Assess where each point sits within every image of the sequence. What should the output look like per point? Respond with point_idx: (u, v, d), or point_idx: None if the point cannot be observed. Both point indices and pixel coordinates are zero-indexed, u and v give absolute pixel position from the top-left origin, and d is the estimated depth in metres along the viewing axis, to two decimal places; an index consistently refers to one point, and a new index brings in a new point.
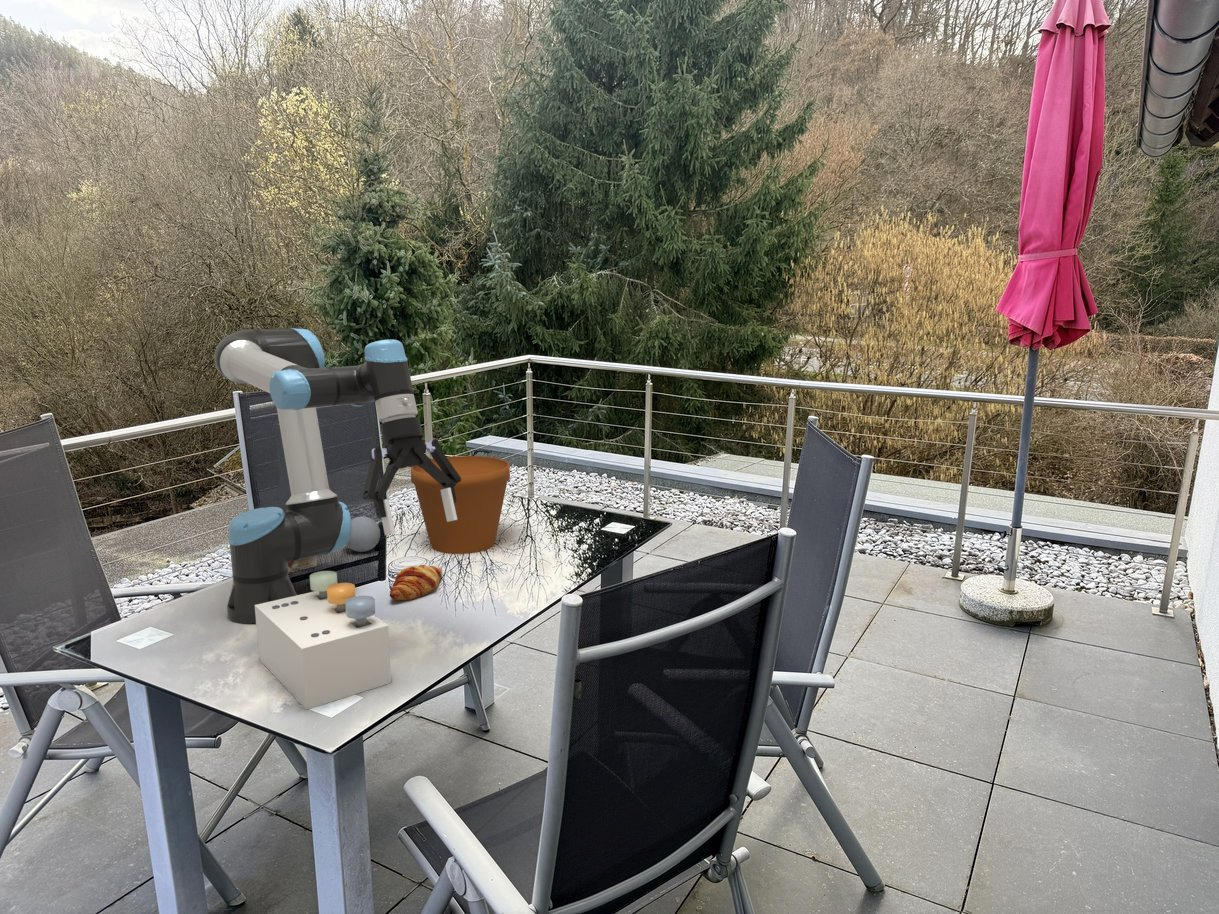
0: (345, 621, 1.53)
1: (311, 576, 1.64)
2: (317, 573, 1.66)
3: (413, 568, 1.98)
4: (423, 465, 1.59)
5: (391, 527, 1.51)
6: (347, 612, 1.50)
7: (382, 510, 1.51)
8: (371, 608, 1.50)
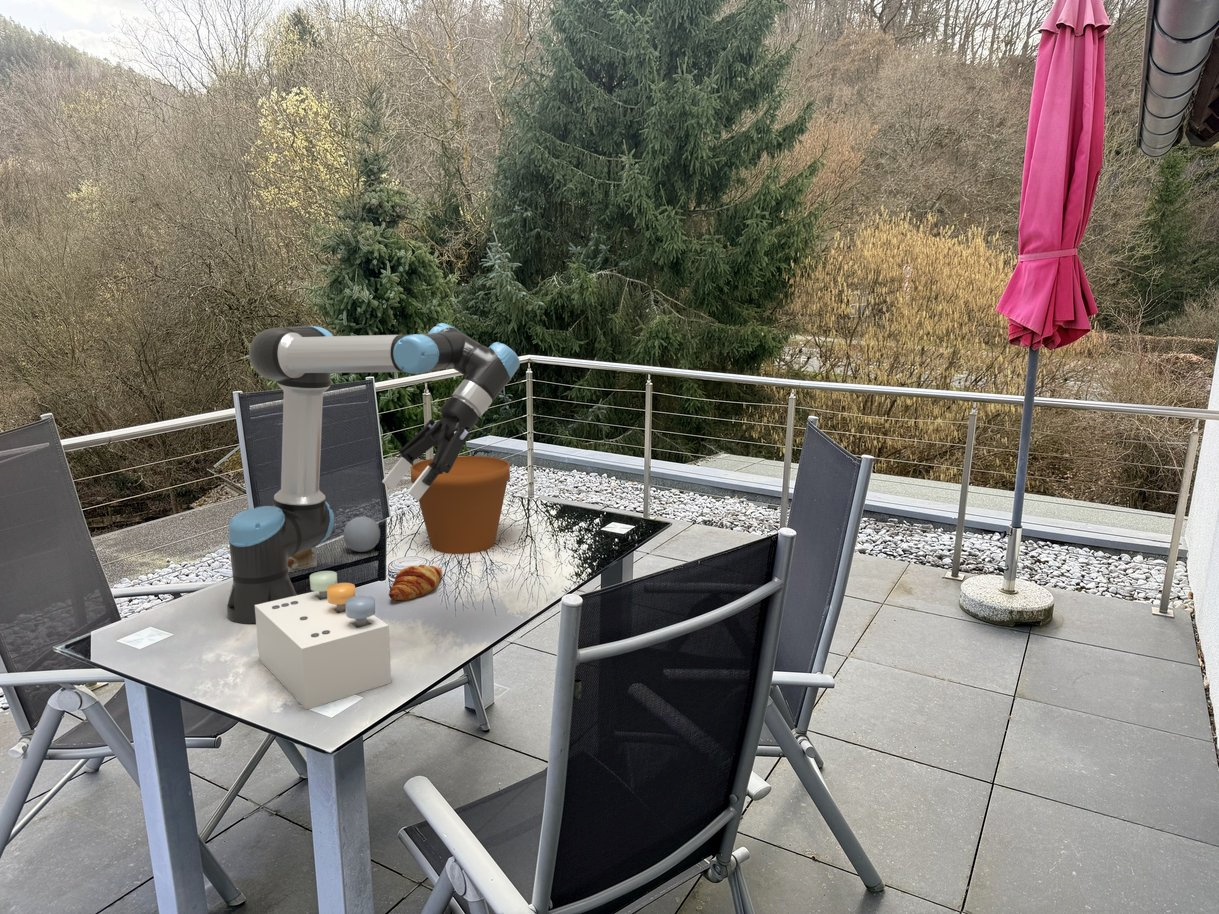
0: (345, 621, 1.53)
1: (311, 576, 1.64)
2: (317, 573, 1.66)
3: (413, 568, 1.98)
4: (430, 441, 1.68)
5: None
6: (347, 612, 1.50)
7: None
8: (371, 608, 1.50)
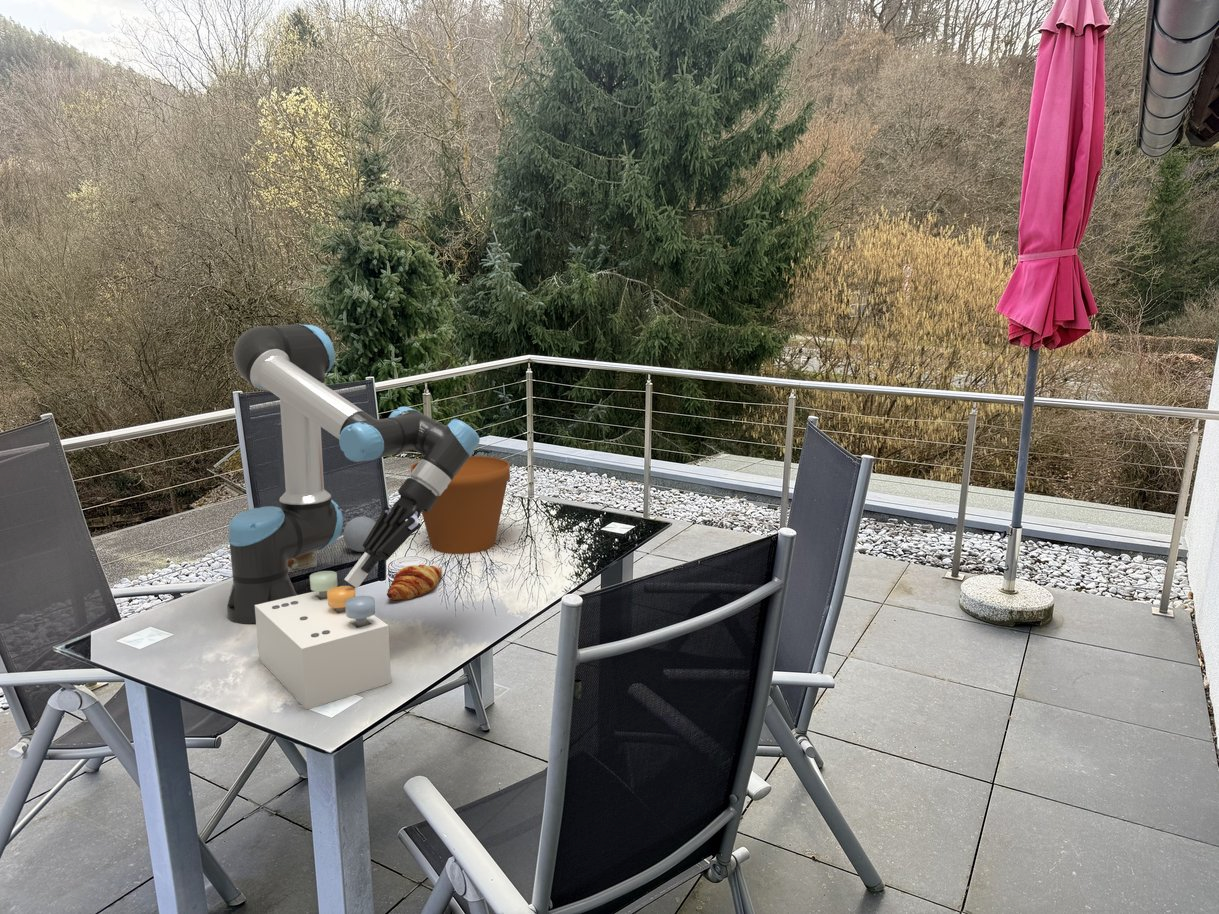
0: (345, 621, 1.53)
1: (311, 576, 1.64)
2: (317, 573, 1.66)
3: (411, 568, 1.98)
4: None
5: None
6: (347, 612, 1.50)
7: None
8: (371, 608, 1.50)
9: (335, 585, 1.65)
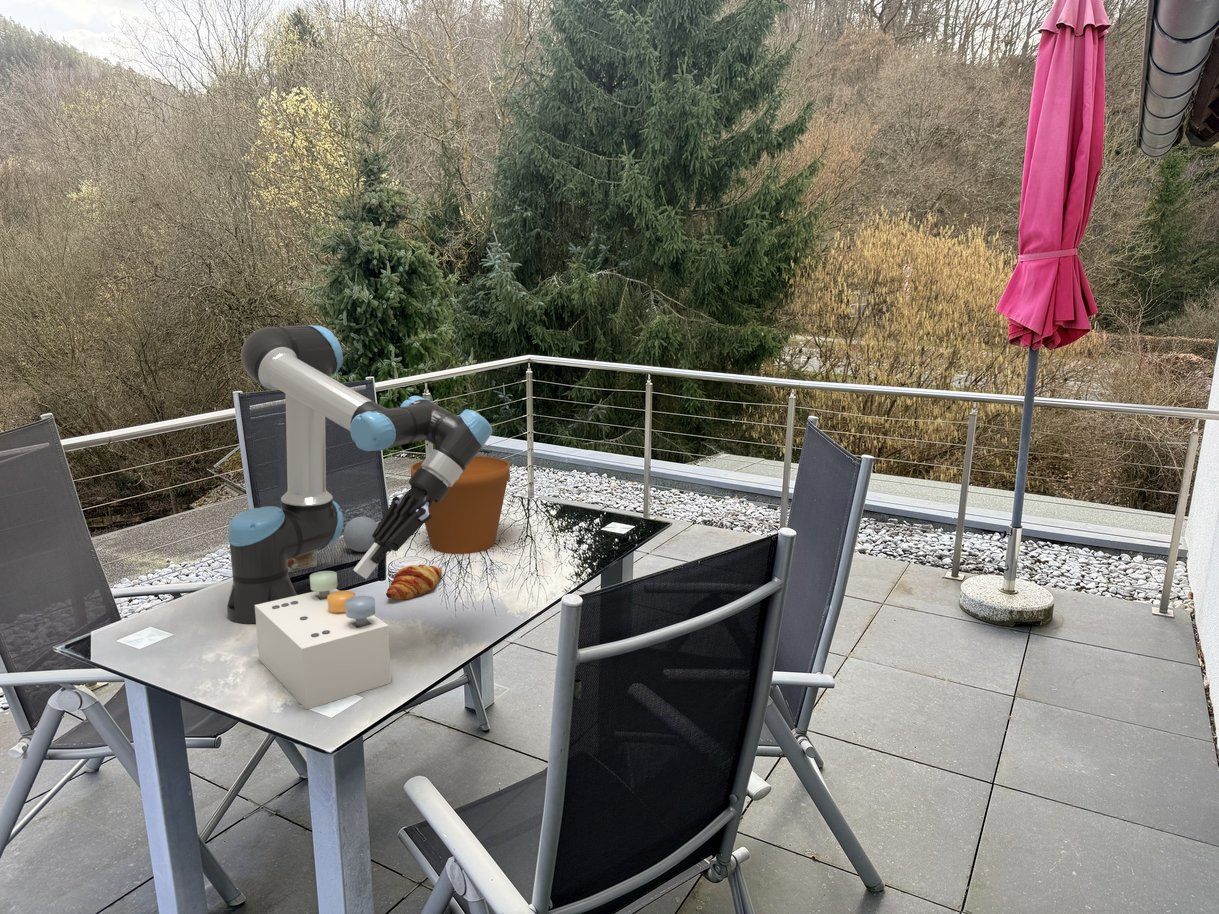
0: (345, 621, 1.53)
1: (311, 576, 1.64)
2: (317, 573, 1.66)
3: (411, 568, 1.99)
4: None
5: None
6: (347, 612, 1.50)
7: None
8: (371, 608, 1.50)
9: (335, 585, 1.65)
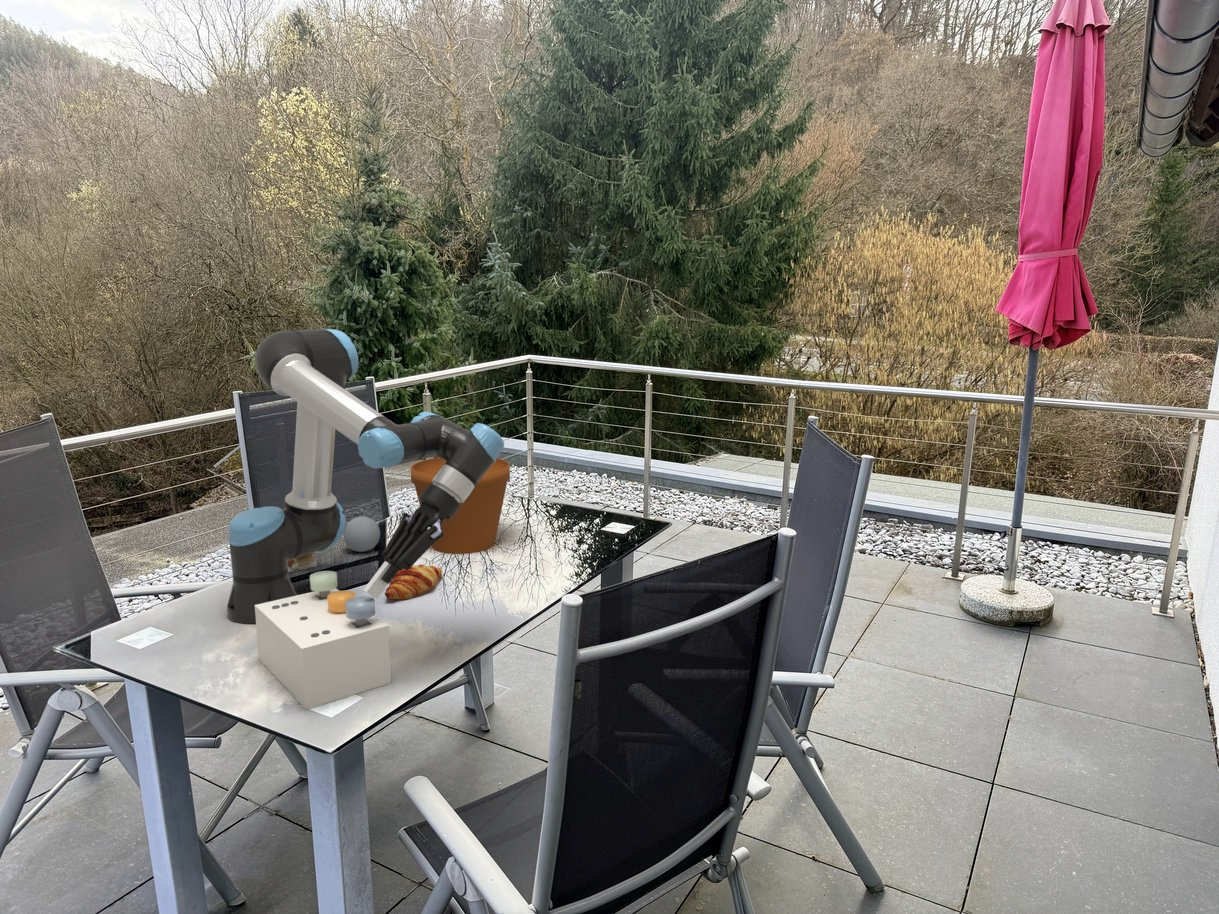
0: (345, 621, 1.53)
1: (311, 576, 1.64)
2: (317, 573, 1.66)
3: None
4: None
5: None
6: (347, 613, 1.50)
7: None
8: (372, 608, 1.51)
9: (335, 585, 1.65)
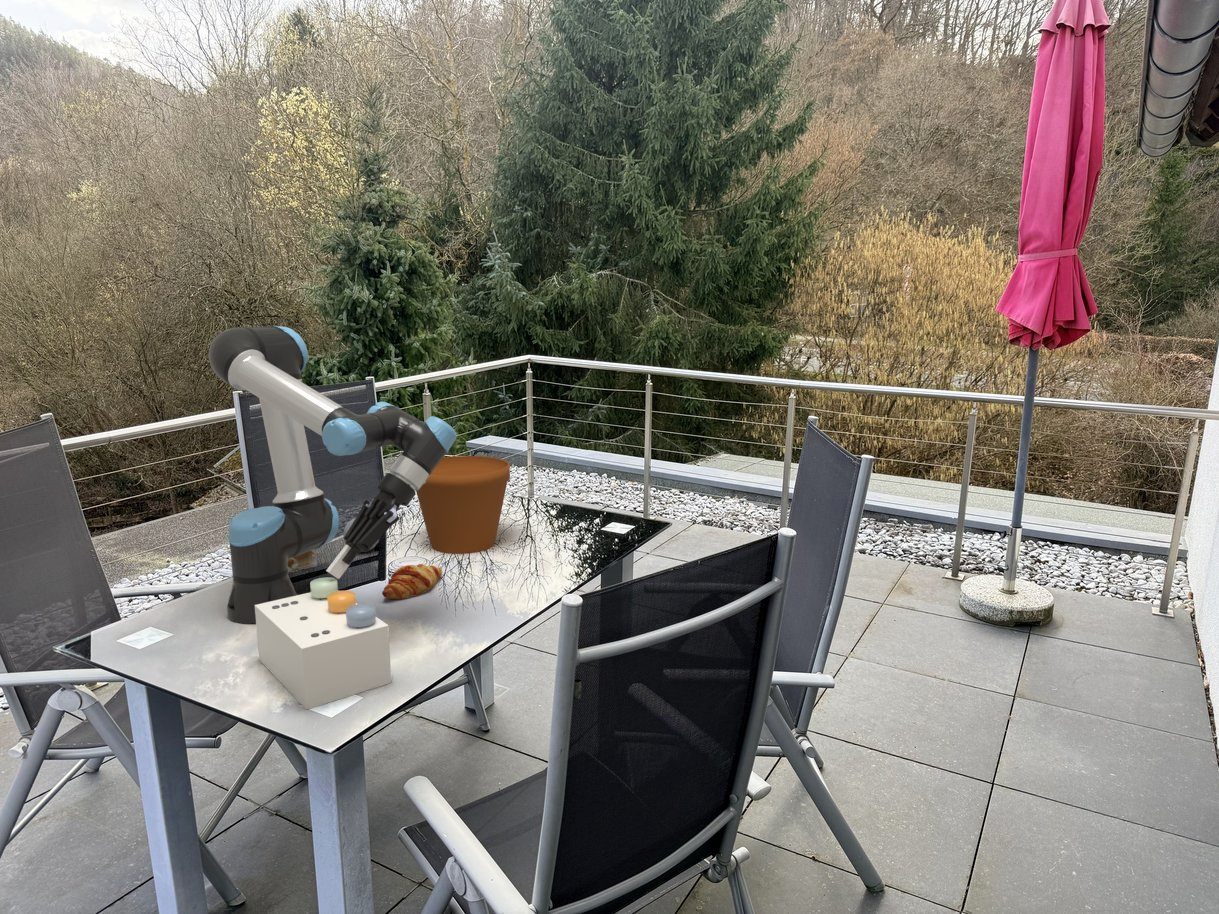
0: (345, 621, 1.53)
1: (311, 583, 1.64)
2: (317, 580, 1.66)
3: (409, 567, 1.99)
4: None
5: None
6: (348, 620, 1.50)
7: None
8: (372, 616, 1.51)
9: None
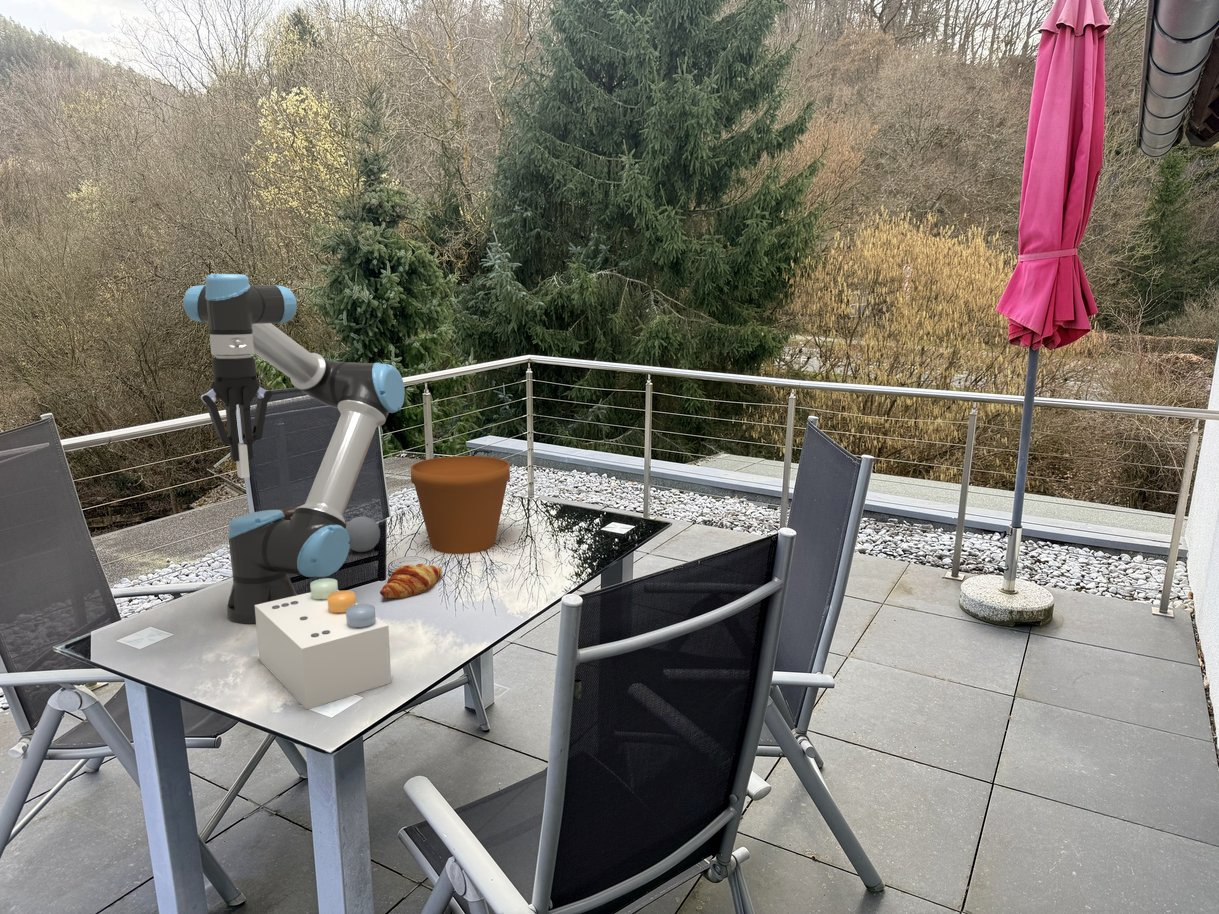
0: (345, 621, 1.53)
1: (312, 584, 1.64)
2: (318, 581, 1.66)
3: (407, 567, 1.99)
4: (241, 407, 1.58)
5: (242, 472, 1.59)
6: (348, 620, 1.50)
7: (235, 455, 1.58)
8: (372, 616, 1.51)
9: None
